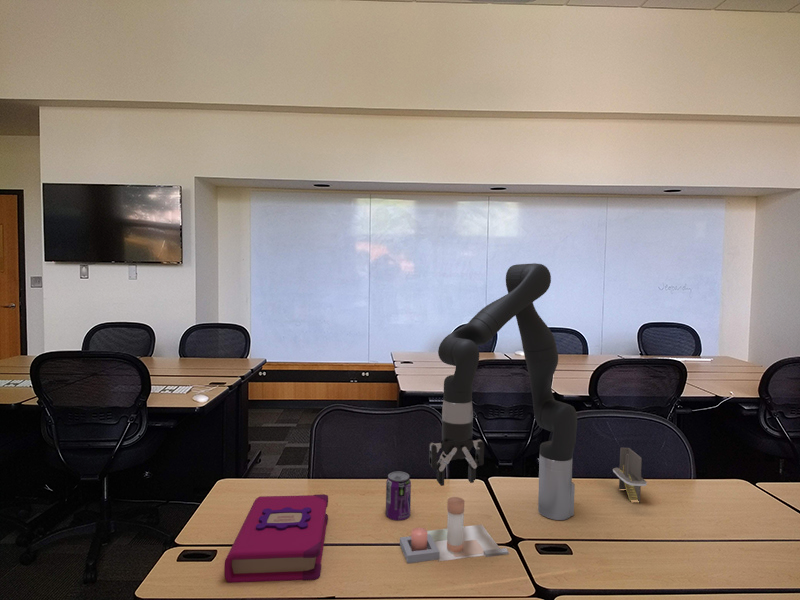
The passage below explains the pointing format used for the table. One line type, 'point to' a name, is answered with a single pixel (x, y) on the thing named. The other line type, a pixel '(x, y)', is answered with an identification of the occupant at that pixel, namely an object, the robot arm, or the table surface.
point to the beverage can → (398, 496)
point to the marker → (455, 525)
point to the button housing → (419, 555)
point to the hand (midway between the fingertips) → (456, 483)
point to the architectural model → (630, 473)
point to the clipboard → (468, 543)
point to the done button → (419, 539)
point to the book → (279, 540)
